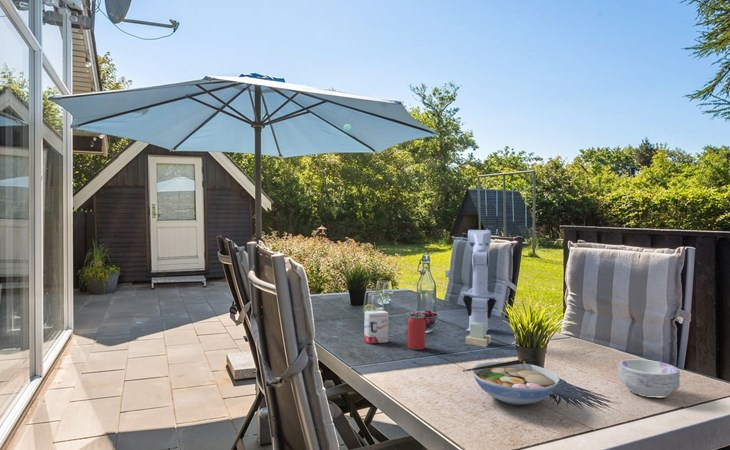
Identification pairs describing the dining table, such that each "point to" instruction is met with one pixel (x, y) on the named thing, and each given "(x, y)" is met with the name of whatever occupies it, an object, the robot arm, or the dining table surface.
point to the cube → (478, 330)
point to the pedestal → (478, 340)
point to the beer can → (416, 332)
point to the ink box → (376, 327)
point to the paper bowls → (648, 377)
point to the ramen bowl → (515, 381)
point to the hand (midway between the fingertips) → (479, 316)
